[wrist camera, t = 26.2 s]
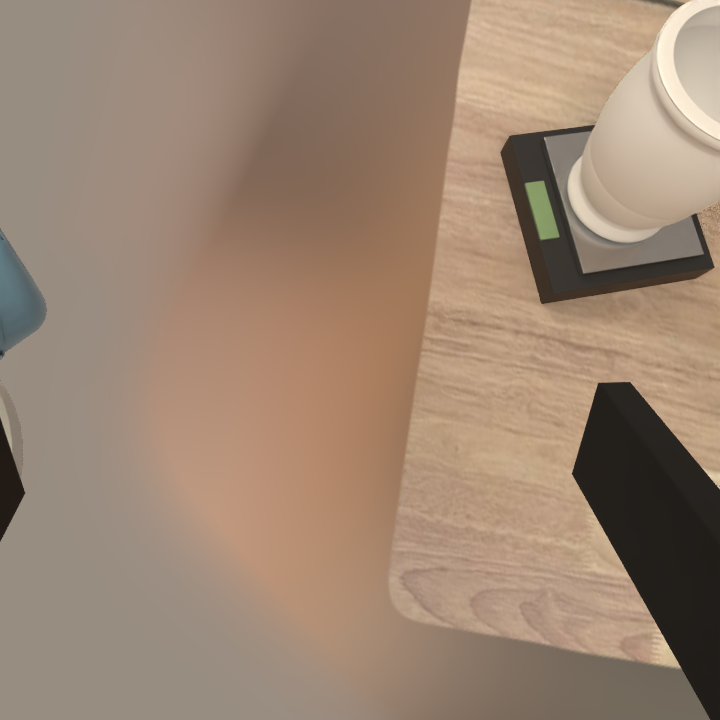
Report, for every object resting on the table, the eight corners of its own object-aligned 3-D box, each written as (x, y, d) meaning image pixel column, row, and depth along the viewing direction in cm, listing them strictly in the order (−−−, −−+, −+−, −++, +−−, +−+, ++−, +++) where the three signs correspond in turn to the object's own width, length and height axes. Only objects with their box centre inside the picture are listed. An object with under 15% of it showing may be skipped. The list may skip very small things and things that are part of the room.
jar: (532, 215, 49) (631, 91, 34) (582, 117, 51) (694, -37, 37) (652, 280, 49) (803, 182, 34) (697, 178, 51) (855, 46, 37)
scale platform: (540, 142, 51) (543, 136, 51) (654, 127, 53) (660, 121, 52) (579, 277, 49) (583, 273, 48) (698, 257, 50) (704, 254, 50)
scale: (500, 152, 54) (510, 134, 51) (647, 133, 56) (665, 114, 53) (541, 304, 51) (554, 293, 48) (696, 278, 53) (716, 266, 50)
